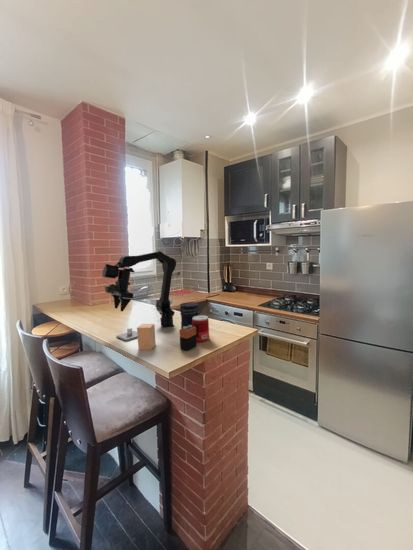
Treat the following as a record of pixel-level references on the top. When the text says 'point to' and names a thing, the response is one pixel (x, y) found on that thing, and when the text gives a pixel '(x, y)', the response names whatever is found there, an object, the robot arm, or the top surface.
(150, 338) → the wooden block
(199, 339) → the canned food
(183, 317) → the storage jar
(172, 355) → the top surface
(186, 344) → the battery
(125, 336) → the peg stand
